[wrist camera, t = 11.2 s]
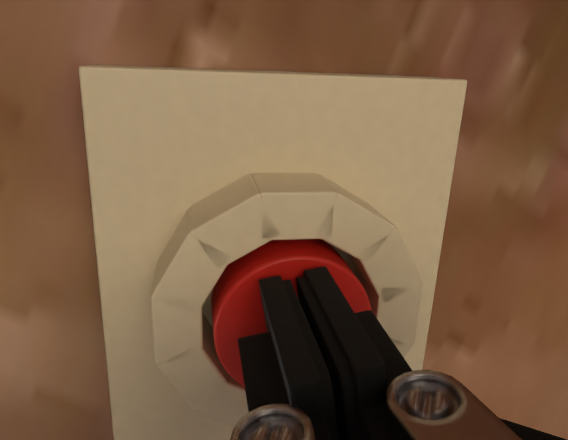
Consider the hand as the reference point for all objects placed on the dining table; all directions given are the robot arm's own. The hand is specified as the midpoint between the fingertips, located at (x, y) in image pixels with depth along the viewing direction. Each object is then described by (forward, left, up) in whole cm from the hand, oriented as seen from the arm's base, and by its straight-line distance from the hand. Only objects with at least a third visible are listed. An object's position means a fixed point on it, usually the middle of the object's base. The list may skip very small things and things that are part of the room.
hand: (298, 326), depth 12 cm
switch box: (0, 0, -4) cm, 4 cm away
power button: (0, 0, -2) cm, 2 cm away
